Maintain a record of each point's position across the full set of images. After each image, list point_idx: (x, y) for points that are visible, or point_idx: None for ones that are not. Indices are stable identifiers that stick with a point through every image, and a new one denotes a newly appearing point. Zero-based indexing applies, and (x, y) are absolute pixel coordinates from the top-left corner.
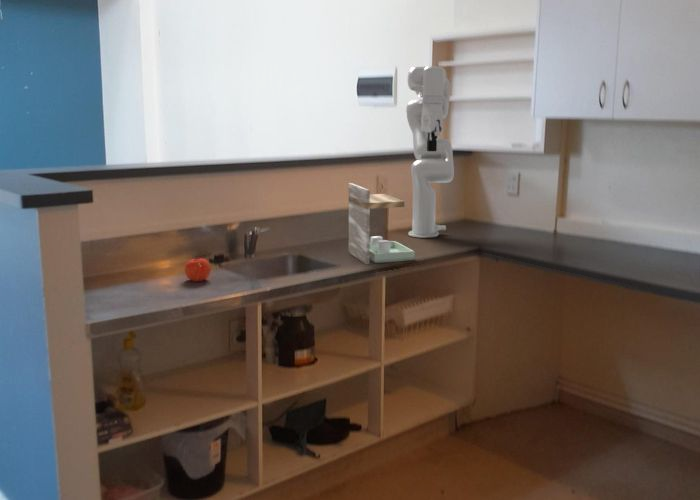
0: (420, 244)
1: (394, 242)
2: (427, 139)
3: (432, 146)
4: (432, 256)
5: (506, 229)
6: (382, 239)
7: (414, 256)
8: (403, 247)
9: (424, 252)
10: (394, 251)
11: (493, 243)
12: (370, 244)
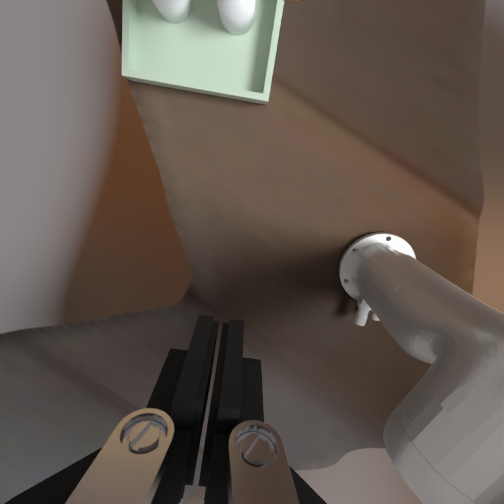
0: (288, 202)
1: (258, 93)
2: (267, 437)
3: (164, 372)
4: (156, 151)
5: (325, 439)
6: (223, 14)
7: (127, 78)
8: (189, 81)
9: (203, 159)
10: (219, 70)
11: None
12: (276, 8)
